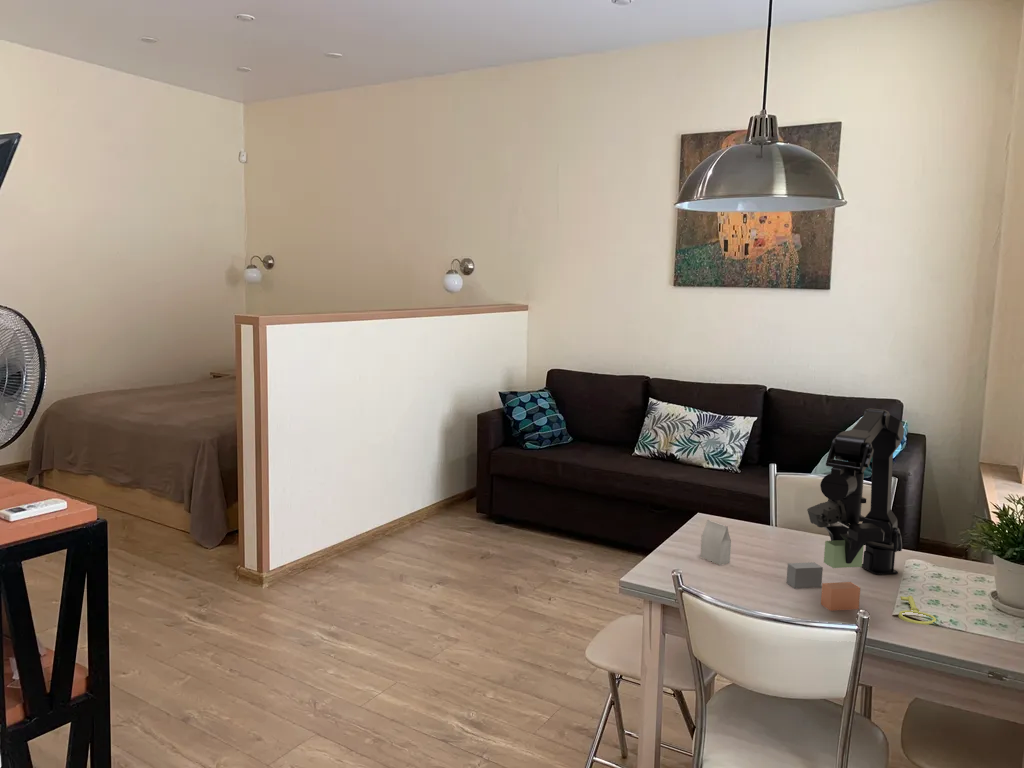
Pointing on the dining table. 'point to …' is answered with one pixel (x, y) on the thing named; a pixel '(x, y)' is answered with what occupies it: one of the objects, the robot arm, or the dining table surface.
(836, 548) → the green brick
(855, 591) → the rust brick
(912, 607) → the key
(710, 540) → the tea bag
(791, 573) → the gray brick
